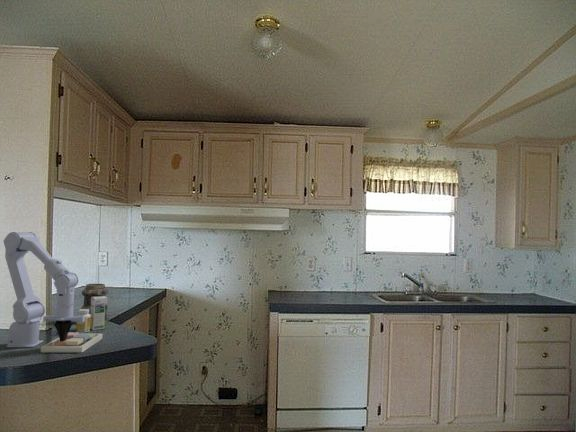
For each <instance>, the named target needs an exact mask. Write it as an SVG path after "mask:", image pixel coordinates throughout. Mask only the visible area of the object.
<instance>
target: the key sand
mask: <svg viewBox="0 0 576 432" xmlns="http://www.w3.org/2000/svg"><path fill="white" fill-rule="evenodd" d="M82 342H83V338H71V339H69V340H67V341H66V345H79V344H81V343H82Z"/></svg>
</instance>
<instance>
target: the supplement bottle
mask: <svg viewBox="0 0 576 432" xmlns="http://www.w3.org/2000/svg"><path fill="white" fill-rule="evenodd" d="M88 313H89V309H81V308H80V309H78V314H77V316H85V321H84V322H76V324H75V325H76V327H75V332H79V333H88V332H90V330H91V328H90V314H88Z"/></svg>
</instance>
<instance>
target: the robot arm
mask: <svg viewBox="0 0 576 432" xmlns="http://www.w3.org/2000/svg"><path fill="white" fill-rule="evenodd" d="M3 245H4V248H5V254H4V256H5V257H4V259H5V261H6V263H7V264H6V265H7V269H8V270H9V271H8V272H9V275H10V279H11V282H12V285H13V288H14V289H13V290H14V292H15V296H16V301H15V302H14V304H13V305H12V309H13V311H12V316H13V319H14V321H13V322H12V323H11V324H10V326H9V329H8V339H7V345H6V348H33V347H36V346H38V345H40V344H41V343H44V340H43V339H42V340H40V339H39V338H40V325H41V323H40V322H41V320H42V317H43V321H42V322H44V323H45V322H54V325H53V326H54V327H55V329H56V332H57V334H58V338H60V341H65V340H66V338H67V335H68V332H70V330H71V328H72V326H73V325H74V322H76V323H77V322H84V321H85V316H77V315H78V314H77V315H76V314H75V315H74V304H75V303H74V302H75V288H76V286H77V285H79V277H78V276H77V274H76V273H75V272H71V271H70V269H67V268H66V267H65V265H64V264H63V262H62V261H61V259H60V260H59V259H57V258H53V257H52V255H50V254H49V252H48V250H47V249H46V248H45V246H44V245H43V244H42V243H41V240H40V237H38V236H37V234H36V233H34V232H32V231H30V232H17V231H16V232H15V231H12V232H9V233H8V234H7V235H6V236H5V238H4V239H3ZM29 252H31V253H32V254H33V255H34V256H35V257H36V258H37V259H39V261H40V262H41V263H42V264H44V266H43V269H44V270H45V272H46V273H47V274H48V275H49V276H50V277H51V279H53V281H54V282H53V284H54V287H55V289H56V307H55V308H56V310H55V314H54V315H53V314H51V315H45V313H46V307H45V305H44V304H43V302H42V301H41V298H40V297H38V296H37V295H35V294H34V291H33V286H32V283H31V280H30V276H29V273H28V270H27V267H26V262H25V259H24V257H25V255H26V254H27V253H29Z"/></svg>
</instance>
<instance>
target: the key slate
mask: <svg viewBox="0 0 576 432" xmlns="http://www.w3.org/2000/svg"><path fill="white" fill-rule="evenodd" d="M90 334H91V333H90ZM90 334H78V335H76V336H74V337H73V338H83V341H85V340H87V339H89V338H90Z"/></svg>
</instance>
